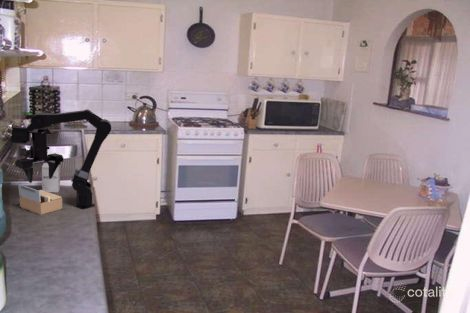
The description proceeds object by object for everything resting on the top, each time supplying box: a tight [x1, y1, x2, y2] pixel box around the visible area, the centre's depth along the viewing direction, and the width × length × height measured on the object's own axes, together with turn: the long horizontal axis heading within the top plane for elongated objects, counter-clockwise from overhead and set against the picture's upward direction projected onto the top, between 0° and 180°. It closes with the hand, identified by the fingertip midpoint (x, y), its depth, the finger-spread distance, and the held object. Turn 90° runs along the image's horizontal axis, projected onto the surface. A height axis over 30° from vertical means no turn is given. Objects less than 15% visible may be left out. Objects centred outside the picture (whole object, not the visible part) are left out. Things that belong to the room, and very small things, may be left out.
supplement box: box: [41, 162, 61, 193], centre depth 207 cm, size 7×7×13 cm
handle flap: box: [17, 183, 41, 202], centre depth 178 cm, size 14×5×1 cm
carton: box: [19, 189, 63, 215], centre depth 183 cm, size 14×10×7 cm
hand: (40, 180), depth 183 cm, fingers open, 9 cm apart
